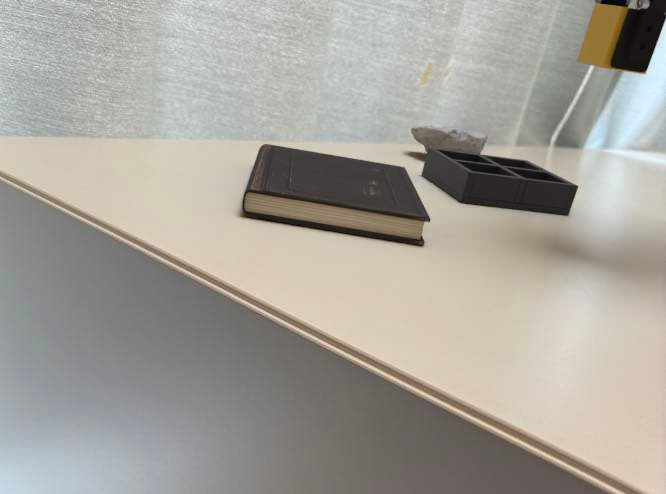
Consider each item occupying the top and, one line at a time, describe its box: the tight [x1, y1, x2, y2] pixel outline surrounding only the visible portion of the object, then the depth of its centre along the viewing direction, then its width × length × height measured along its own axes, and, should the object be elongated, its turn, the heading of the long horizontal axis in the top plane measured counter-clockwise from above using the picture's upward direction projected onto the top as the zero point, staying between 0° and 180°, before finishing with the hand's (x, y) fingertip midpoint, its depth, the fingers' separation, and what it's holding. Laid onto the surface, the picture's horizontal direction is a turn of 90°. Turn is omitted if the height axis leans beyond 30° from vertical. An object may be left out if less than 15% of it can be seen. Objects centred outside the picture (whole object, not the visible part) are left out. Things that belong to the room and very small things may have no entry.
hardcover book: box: [241, 143, 431, 246], centre depth 76 cm, size 16×23×2 cm
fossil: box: [410, 125, 488, 155], centre depth 106 cm, size 9×6×10 cm
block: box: [576, 3, 666, 75], centre depth 65 cm, size 4×4×4 cm
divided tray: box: [421, 147, 579, 216], centre depth 91 cm, size 13×13×3 cm
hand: (612, 63), depth 66 cm, fingers closed on block, 4 cm apart
